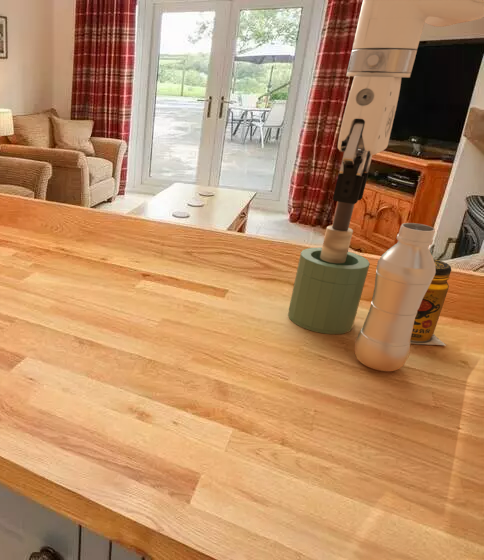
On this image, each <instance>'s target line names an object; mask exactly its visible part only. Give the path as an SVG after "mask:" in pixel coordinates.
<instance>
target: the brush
mask: <svg viewBox="0 0 484 560" xmlns="http://www.w3.org/2000/svg"><path fill="white" fill-rule="evenodd" d="M361 176H362V175H361ZM354 208H355V204H350V203H344V202H338V201H337V205H336V209H335V212H334V217H333V222H332V224H331V225H328V226H326V229H325V233H324V238H323V243H322V247H321V248H322V250H321V255H320V258H321V259H322V260H324V261H326V262H330V263H344V262H345V261H346V257H347V253H348V252H349V249H350V245H351V241H352V238H353V237H352V236H353V233H354V230H353V229H352V228H350V225H351V220H352V216H353V211H354Z"/></svg>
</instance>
